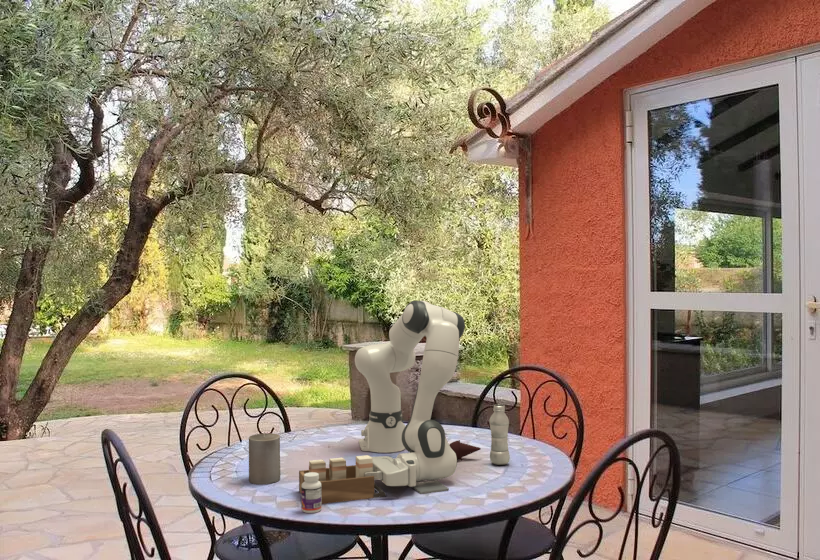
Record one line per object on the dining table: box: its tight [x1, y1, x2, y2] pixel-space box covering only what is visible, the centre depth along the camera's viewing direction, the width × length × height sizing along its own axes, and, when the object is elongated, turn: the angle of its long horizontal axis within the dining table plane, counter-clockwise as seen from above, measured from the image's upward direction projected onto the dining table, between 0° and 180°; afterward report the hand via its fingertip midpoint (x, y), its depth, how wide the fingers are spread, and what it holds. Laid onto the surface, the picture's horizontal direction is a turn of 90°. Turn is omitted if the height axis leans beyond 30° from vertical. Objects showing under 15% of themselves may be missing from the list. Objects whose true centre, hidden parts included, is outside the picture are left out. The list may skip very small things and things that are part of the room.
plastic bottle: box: [488, 403, 511, 466], centre depth 229 cm, size 6×7×20 cm
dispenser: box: [298, 457, 387, 505], centre depth 198 cm, size 14×22×10 cm, turn 110°
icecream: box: [449, 439, 481, 461], centre depth 235 cm, size 7×7×15 cm
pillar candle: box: [248, 432, 281, 486], centre depth 212 cm, size 10×10×15 cm
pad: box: [411, 480, 450, 495], centre depth 203 cm, size 9×9×1 cm
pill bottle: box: [300, 472, 323, 514], centre depth 183 cm, size 5×5×10 cm
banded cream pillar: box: [355, 454, 373, 478], centre depth 200 cm, size 4×4×10 cm
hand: (361, 472), depth 200 cm, fingers open, 5 cm apart
